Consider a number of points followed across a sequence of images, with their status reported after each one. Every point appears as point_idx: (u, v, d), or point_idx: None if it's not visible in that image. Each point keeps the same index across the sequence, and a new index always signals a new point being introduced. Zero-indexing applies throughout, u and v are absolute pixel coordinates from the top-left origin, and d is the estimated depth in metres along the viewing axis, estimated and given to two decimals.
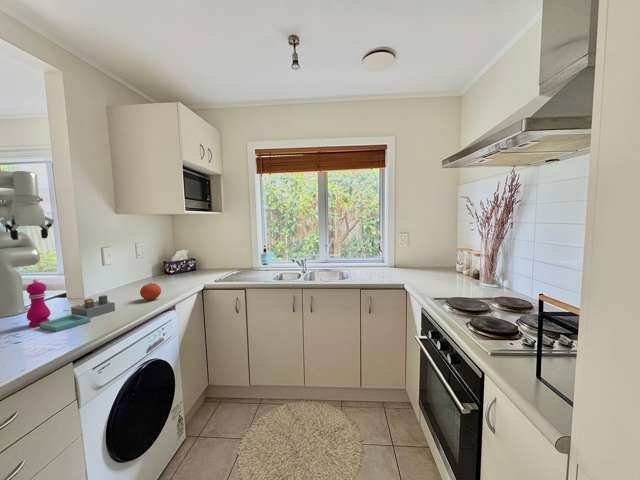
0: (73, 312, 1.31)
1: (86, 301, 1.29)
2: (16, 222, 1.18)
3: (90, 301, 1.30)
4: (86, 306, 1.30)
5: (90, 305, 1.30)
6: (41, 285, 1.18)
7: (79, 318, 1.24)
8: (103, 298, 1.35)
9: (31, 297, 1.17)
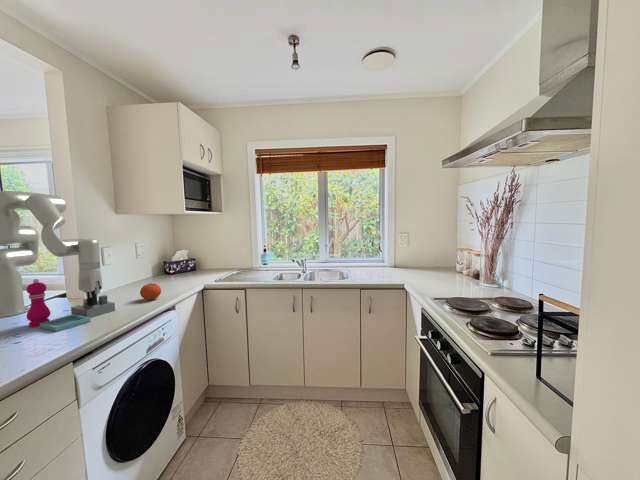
0: (73, 312, 1.31)
1: (85, 301, 1.29)
2: (101, 286, 1.29)
3: None
4: (85, 306, 1.30)
5: None
6: (41, 285, 1.18)
7: (79, 318, 1.24)
8: (103, 298, 1.35)
9: (31, 297, 1.17)
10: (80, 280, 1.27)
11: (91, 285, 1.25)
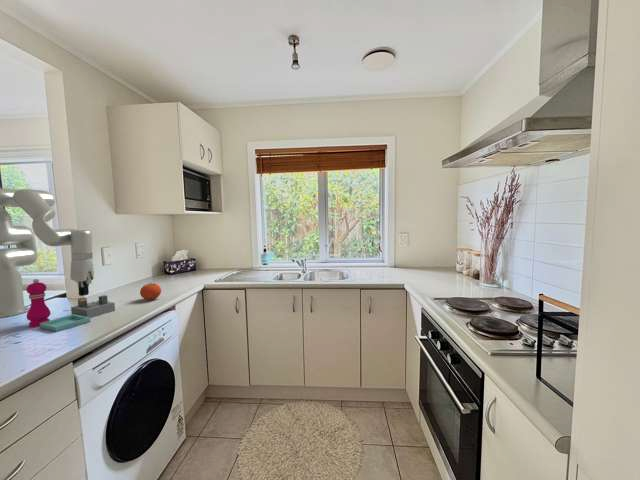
0: (73, 312, 1.31)
1: (79, 300, 1.31)
2: (93, 277, 1.31)
3: (83, 300, 1.32)
4: (79, 305, 1.31)
5: (83, 304, 1.32)
6: (41, 285, 1.18)
7: (79, 318, 1.24)
8: (103, 298, 1.35)
9: (31, 297, 1.17)
10: (72, 270, 1.29)
11: (83, 275, 1.27)
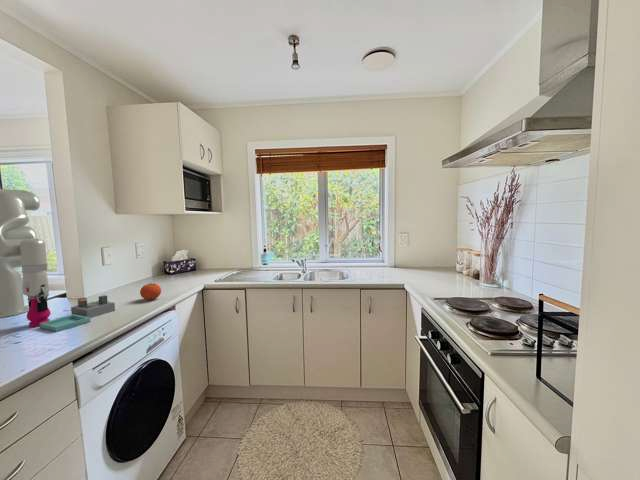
0: (73, 312, 1.31)
1: (79, 300, 1.31)
2: (48, 291, 1.19)
3: (83, 300, 1.32)
4: (79, 305, 1.31)
5: (83, 304, 1.32)
6: None
7: (79, 318, 1.24)
8: (103, 298, 1.35)
9: (31, 297, 1.17)
10: (24, 284, 1.17)
11: (35, 289, 1.15)
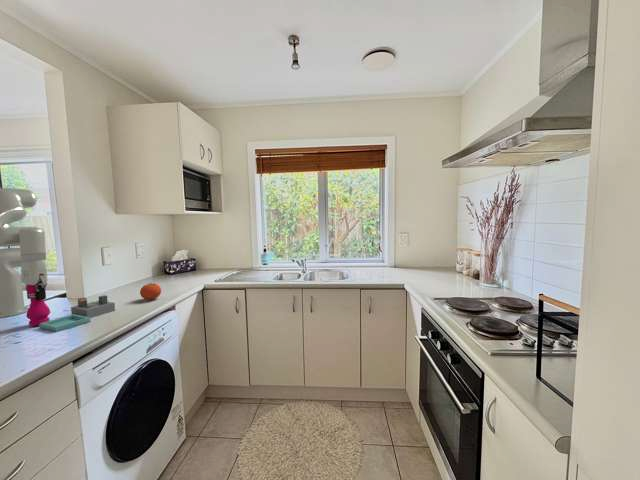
0: (73, 312, 1.31)
1: (79, 300, 1.31)
2: None
3: (83, 300, 1.32)
4: (79, 305, 1.31)
5: (83, 304, 1.32)
6: None
7: (79, 318, 1.24)
8: (103, 298, 1.35)
9: (30, 295, 1.17)
10: (22, 272, 1.17)
11: (33, 278, 1.15)
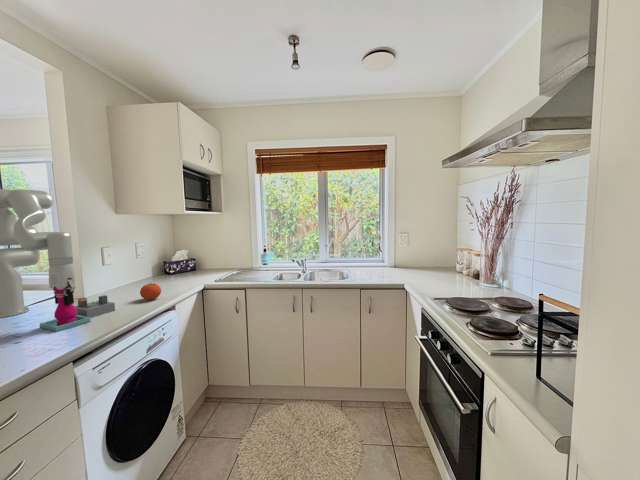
0: None
1: (79, 300, 1.31)
2: (74, 284, 1.18)
3: (83, 300, 1.32)
4: (79, 305, 1.31)
5: (83, 304, 1.32)
6: None
7: (79, 318, 1.24)
8: (103, 298, 1.35)
9: (58, 296, 1.16)
10: (50, 277, 1.16)
11: (62, 282, 1.14)
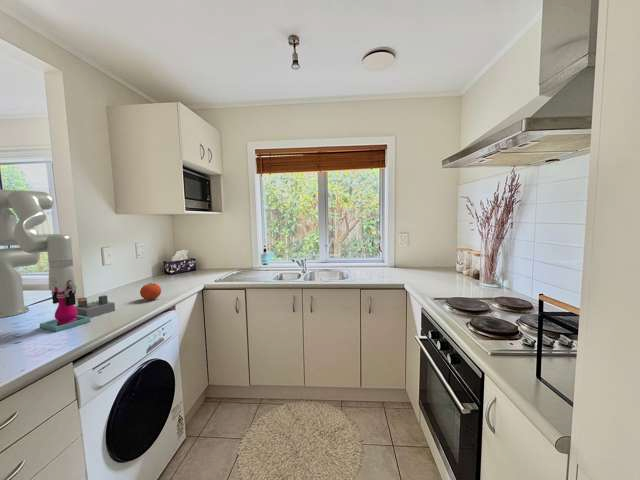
0: None
1: (79, 300, 1.31)
2: None
3: (83, 300, 1.32)
4: (79, 305, 1.31)
5: (83, 304, 1.32)
6: None
7: (79, 318, 1.24)
8: (103, 298, 1.35)
9: (59, 296, 1.16)
10: (50, 279, 1.16)
11: (62, 285, 1.14)
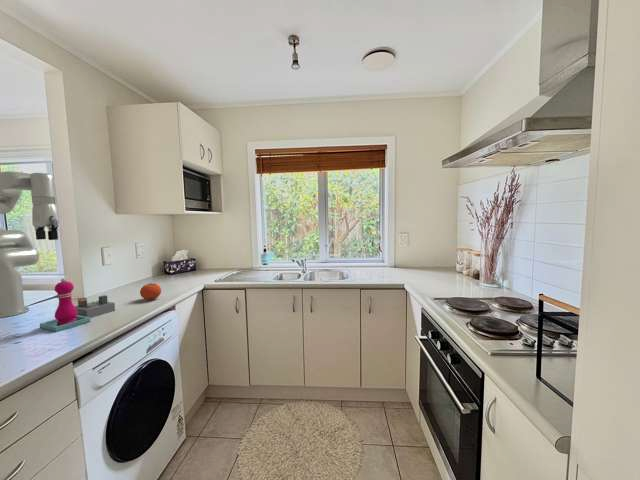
0: None
1: (79, 300, 1.31)
2: None
3: (83, 300, 1.32)
4: (79, 305, 1.31)
5: (83, 304, 1.32)
6: (69, 284, 1.17)
7: (79, 318, 1.24)
8: (103, 298, 1.35)
9: (59, 296, 1.16)
10: (33, 215, 1.23)
11: (44, 219, 1.21)
